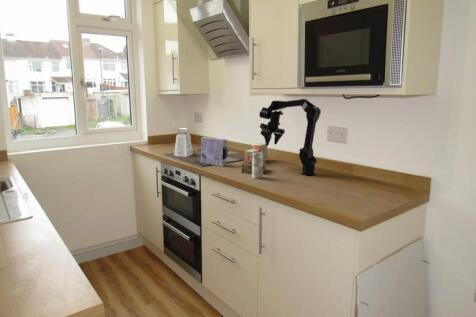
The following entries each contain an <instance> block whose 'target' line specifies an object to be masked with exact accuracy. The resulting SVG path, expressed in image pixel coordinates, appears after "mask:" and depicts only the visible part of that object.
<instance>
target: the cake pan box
mask: <svg viewBox="0 0 476 317" xmlns="http://www.w3.org/2000/svg"><path fill="white" fill-rule="evenodd" d="M200 145H201V146H200V148H201V149H200V164H204V165H205V164H206V165H209V164H211V165H210V166H216V167H221V168H222V167H226V166H227V157H228V154H229V153H228V139H224V138H217V137H208V136H202V137H201V143H200Z"/></svg>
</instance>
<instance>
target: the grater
mask: <svg viewBox="0 0 476 317" xmlns="http://www.w3.org/2000/svg"><path fill="white" fill-rule="evenodd" d="M181 130H186V133H181ZM192 155H194V153H193V146H192V139H191V134H190V129H189V128H184V127H183V128H181V127H180V128H178V129H177V134H176V137H175V145H174V153H173V156H175V157H184V158H185V157H189V156H192Z"/></svg>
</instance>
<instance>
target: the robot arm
mask: <svg viewBox="0 0 476 317" xmlns="http://www.w3.org/2000/svg"><path fill="white" fill-rule="evenodd" d="M291 107H293V108H294V107H301V108H302V110H303V111H304V112H305V115H306V116H305V118H306V121H307V124H306V125H307V126H306V131H305V137H304V144H303V147H302V148H299V152H298V153H299V154H298V156H299V157H298V159H299V160H300V162H301V165H302V172H301V173H300V174H301V175H304V176H308V177H310V176H316V175H317V173H315V172H316V171H315V170H316V169H315V168H316V165H315V164H317V162H318V160H317V158H316V157H315V156H314V149H313V142H314V139H315V138H314V136H315V131H316V125H317V122H318V120H319V118H320V116H321V113H322V111H321V108H320V107H318V106H316V105H315V104H313V103H312V102H311V101H309V99H307V98H301V99H293V100H286V101H285V100H272V101H271V103H270V104H269V105H268V107H265V106H264V107H262V109H261V110H260V111H259V118H260V119H265V120H269V121H267V123H266V124H265V123H260V126H259V128H260V129H261V131H260V135H261V136H262V137H263V139H264V144H266V146H267V147H269V145H270V141H271V139H272V135H274V143H273V144H274V145H277V144H278V143H279V141H280V140H281V139H282V137H283V135H285V134H286V133H285V132H286V131H285V128H280V127H279V125H281V122H280V118H281V116H282V115H284V112H283V111H282V110H285V109H286V108H291Z"/></svg>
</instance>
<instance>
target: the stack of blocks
mask: <svg viewBox="0 0 476 317" xmlns="http://www.w3.org/2000/svg"><path fill="white" fill-rule="evenodd" d="M258 152H261V153H263V162H266V161H267V159H268V146H266V143H265V142H261V143H260V142H258V143H253V144H251V148H250V149H247V150H244V156H243V157H244V160H243V163H244V162H245V161H252V153H258Z"/></svg>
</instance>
